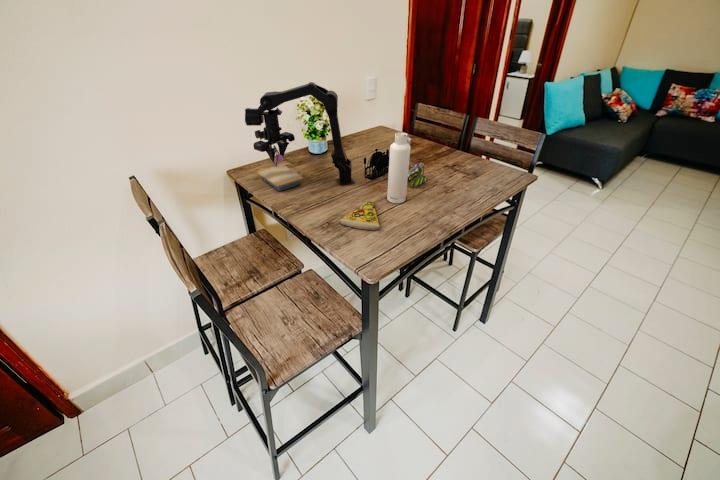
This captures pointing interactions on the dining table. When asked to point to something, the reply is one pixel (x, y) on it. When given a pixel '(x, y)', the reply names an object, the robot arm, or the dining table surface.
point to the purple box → (277, 156)
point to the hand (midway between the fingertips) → (277, 160)
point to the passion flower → (418, 177)
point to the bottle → (398, 169)
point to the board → (279, 175)
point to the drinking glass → (408, 140)
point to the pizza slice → (362, 218)
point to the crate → (283, 186)
